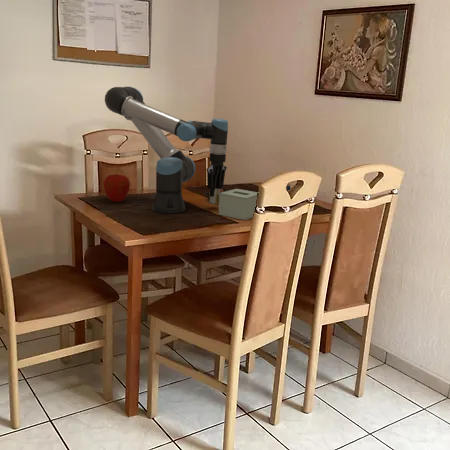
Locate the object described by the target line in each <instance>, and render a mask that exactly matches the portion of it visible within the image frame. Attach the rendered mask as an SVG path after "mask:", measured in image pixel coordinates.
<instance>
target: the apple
mask: <svg viewBox="0 0 450 450" xmlns="http://www.w3.org/2000/svg"><path fill="white" fill-rule="evenodd" d="M130 186H131V182H130V180H129V178H128V177H127V176H125V175H123V174H122V175H121V174H118V173H117V172H115V174H110V175H109V174H108V175H107V176H106V177H105V178H104V180H103V189H104V192H105V194H106V197H107V199H109V200H110V201H111V202H114V203H122V202H123V201H124V200H125V199H126V197H127V195H128V194H129V191H130Z"/></svg>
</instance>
